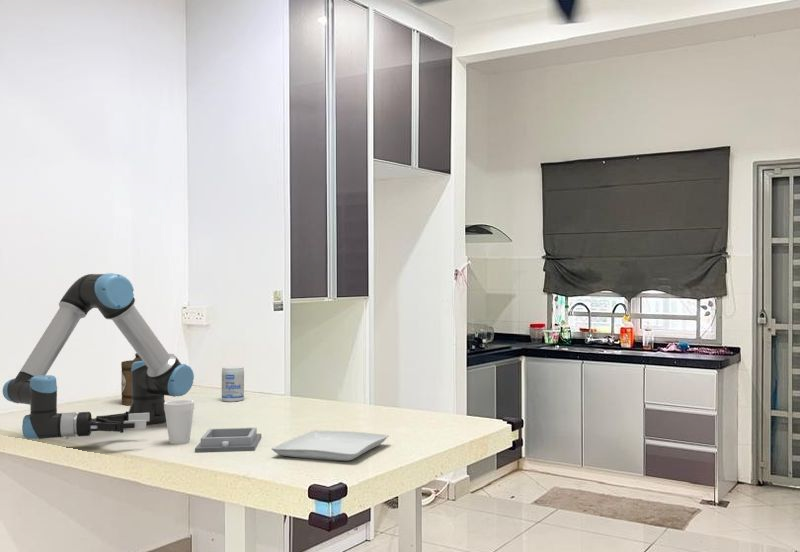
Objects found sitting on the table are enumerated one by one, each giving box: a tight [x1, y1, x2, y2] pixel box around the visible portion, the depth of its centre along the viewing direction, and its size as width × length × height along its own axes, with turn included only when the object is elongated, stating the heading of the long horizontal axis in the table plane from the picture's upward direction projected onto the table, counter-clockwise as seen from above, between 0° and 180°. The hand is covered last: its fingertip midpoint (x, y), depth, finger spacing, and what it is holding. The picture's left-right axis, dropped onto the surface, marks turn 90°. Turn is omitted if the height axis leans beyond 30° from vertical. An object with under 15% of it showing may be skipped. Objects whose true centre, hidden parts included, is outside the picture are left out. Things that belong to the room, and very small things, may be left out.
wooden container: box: [120, 352, 143, 406], centre depth 329 cm, size 15×15×22 cm
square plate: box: [271, 430, 390, 462], centre depth 231 cm, size 27×27×4 cm
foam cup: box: [164, 399, 195, 445], centre depth 247 cm, size 10×9×13 cm
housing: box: [194, 426, 262, 453], centre depth 243 cm, size 20×18×4 cm
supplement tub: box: [221, 365, 245, 403], centre depth 332 cm, size 10×10×15 cm
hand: (147, 420), depth 245 cm, fingers open, 13 cm apart
